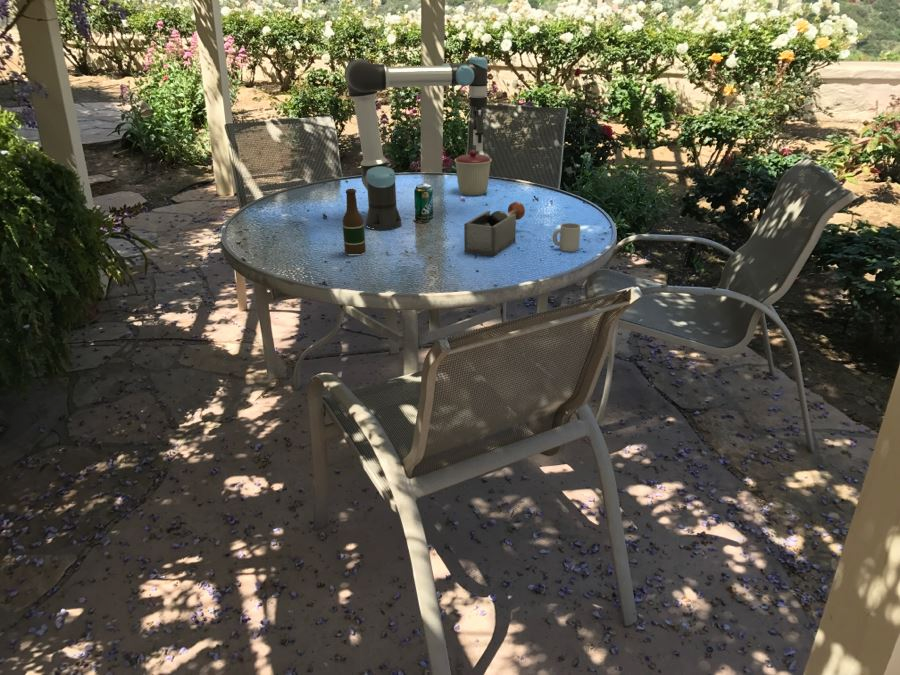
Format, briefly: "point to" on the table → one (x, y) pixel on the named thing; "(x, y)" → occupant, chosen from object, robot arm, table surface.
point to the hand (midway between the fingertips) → (477, 147)
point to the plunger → (512, 209)
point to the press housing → (489, 235)
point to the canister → (473, 173)
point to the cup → (568, 237)
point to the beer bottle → (353, 226)
